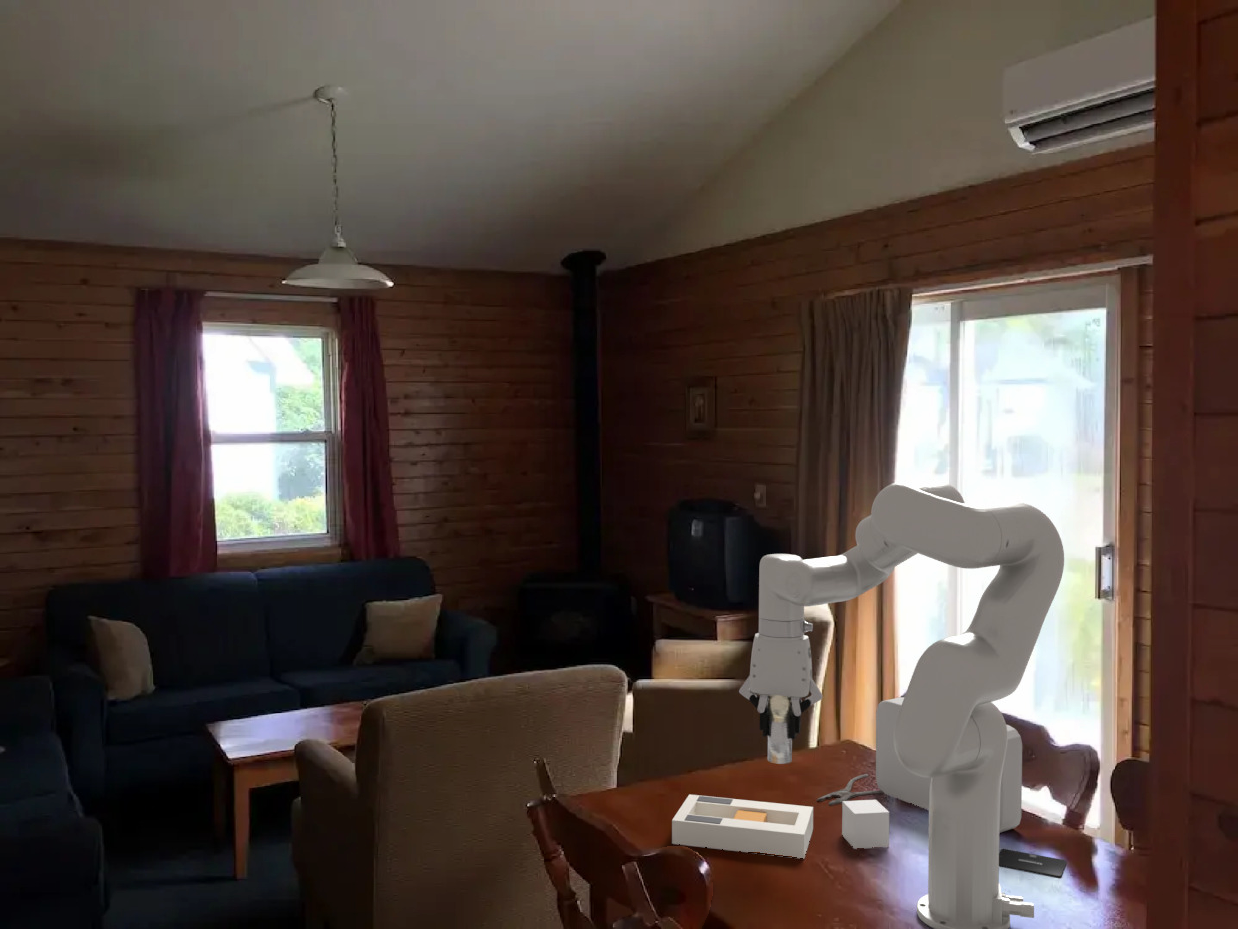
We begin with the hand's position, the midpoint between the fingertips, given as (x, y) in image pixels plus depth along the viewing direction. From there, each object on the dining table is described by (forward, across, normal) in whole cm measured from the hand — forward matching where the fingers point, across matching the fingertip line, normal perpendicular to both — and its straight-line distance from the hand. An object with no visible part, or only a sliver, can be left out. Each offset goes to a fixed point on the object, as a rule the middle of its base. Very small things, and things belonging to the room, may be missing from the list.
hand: (779, 734), depth 177 cm
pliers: (+19, -12, -28) cm, 36 cm away
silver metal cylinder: (+4, 0, 0) cm, 4 cm away
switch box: (+18, +6, 0) cm, 19 cm away
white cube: (+18, -14, -4) cm, 23 cm away
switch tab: (+17, +5, 0) cm, 18 cm away
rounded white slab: (+18, -27, -23) cm, 40 cm away
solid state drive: (+18, -40, -2) cm, 44 cm away
